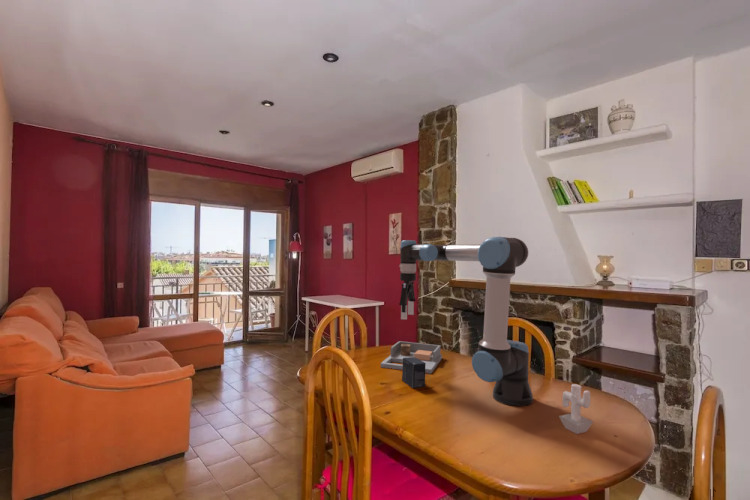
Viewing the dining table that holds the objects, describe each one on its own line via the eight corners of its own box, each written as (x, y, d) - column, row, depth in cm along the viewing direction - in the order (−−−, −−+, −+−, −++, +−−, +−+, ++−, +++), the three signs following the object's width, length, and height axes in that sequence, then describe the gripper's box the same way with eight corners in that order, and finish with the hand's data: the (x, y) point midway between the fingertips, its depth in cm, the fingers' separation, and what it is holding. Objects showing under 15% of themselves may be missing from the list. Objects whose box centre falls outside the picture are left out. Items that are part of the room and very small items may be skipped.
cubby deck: (442, 358, 204) (442, 345, 204) (431, 373, 178) (431, 359, 178) (397, 353, 214) (397, 341, 214) (380, 367, 188) (380, 353, 188)
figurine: (570, 421, 129) (571, 378, 129) (596, 434, 120) (596, 388, 120) (555, 425, 126) (556, 381, 126) (580, 438, 117) (581, 391, 118)
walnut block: (410, 353, 207) (410, 344, 207) (410, 355, 202) (410, 346, 202) (401, 352, 207) (401, 343, 207) (400, 355, 202) (400, 346, 202)
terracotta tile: (432, 356, 200) (432, 351, 200) (429, 361, 192) (429, 355, 192) (418, 355, 203) (418, 349, 203) (414, 359, 195) (414, 353, 195)
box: (425, 386, 161) (426, 362, 161) (412, 388, 159) (412, 364, 159) (414, 378, 171) (414, 356, 171) (401, 380, 169) (401, 357, 169)
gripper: (406, 270, 190) (406, 312, 190) (393, 273, 166) (392, 320, 166) (421, 271, 188) (420, 313, 188) (409, 274, 164) (409, 322, 164)
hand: (407, 316), depth 177 cm, fingers open, 13 cm apart
